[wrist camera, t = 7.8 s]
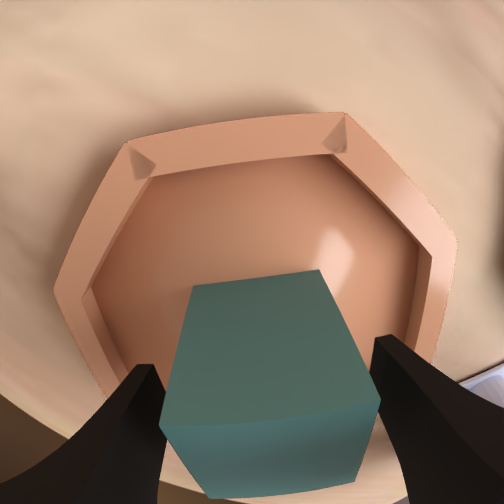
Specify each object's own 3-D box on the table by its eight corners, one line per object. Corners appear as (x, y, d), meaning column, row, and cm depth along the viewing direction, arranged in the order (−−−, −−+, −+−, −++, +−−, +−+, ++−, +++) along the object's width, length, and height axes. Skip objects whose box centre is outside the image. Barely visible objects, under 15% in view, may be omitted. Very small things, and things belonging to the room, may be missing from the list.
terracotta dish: (399, 397, 15) (409, 418, 14) (148, 427, 15) (142, 450, 14) (434, 116, 9) (462, 117, 8) (45, 167, 10) (18, 175, 8)
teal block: (320, 361, 12) (354, 481, 7) (216, 373, 13) (209, 498, 7) (319, 268, 11) (381, 399, 5) (193, 285, 11) (158, 425, 5)
